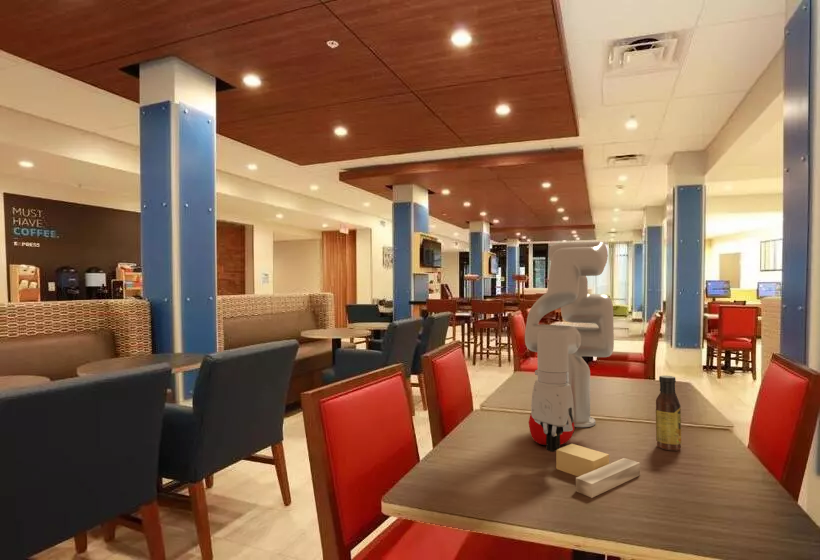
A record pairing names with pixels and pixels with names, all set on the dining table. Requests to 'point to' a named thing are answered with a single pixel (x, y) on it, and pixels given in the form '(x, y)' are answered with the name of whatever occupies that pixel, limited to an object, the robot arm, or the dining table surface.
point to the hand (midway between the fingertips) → (553, 449)
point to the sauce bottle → (668, 415)
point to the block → (579, 459)
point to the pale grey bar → (607, 477)
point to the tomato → (540, 436)
